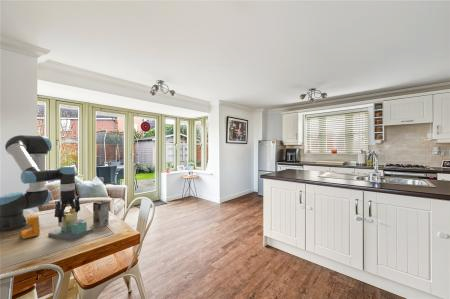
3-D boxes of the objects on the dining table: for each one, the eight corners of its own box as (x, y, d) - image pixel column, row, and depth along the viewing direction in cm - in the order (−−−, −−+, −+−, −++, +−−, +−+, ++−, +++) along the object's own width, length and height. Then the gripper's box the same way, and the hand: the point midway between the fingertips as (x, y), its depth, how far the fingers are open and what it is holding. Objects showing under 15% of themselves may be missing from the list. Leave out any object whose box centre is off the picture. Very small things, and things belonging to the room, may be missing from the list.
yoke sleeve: (66, 227, 125) (65, 212, 125) (58, 226, 127) (58, 210, 127) (77, 223, 131) (77, 208, 131) (69, 222, 134) (69, 207, 133)
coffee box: (92, 224, 143) (92, 202, 143) (101, 221, 149) (101, 200, 149) (100, 226, 139) (100, 204, 139) (109, 223, 145) (109, 201, 145)
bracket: (21, 235, 126) (21, 216, 126) (36, 231, 132) (36, 213, 131) (23, 240, 119) (23, 220, 119) (39, 236, 125) (39, 217, 125)
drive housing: (48, 236, 125) (48, 217, 124) (71, 227, 138) (71, 210, 138) (71, 240, 119) (71, 221, 118) (93, 231, 132) (93, 213, 132)
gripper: (54, 193, 118) (54, 231, 118) (86, 187, 137) (87, 219, 137) (46, 192, 120) (46, 229, 121) (78, 186, 139) (79, 218, 140)
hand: (68, 224), depth 129 cm, fingers closed on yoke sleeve, 7 cm apart
